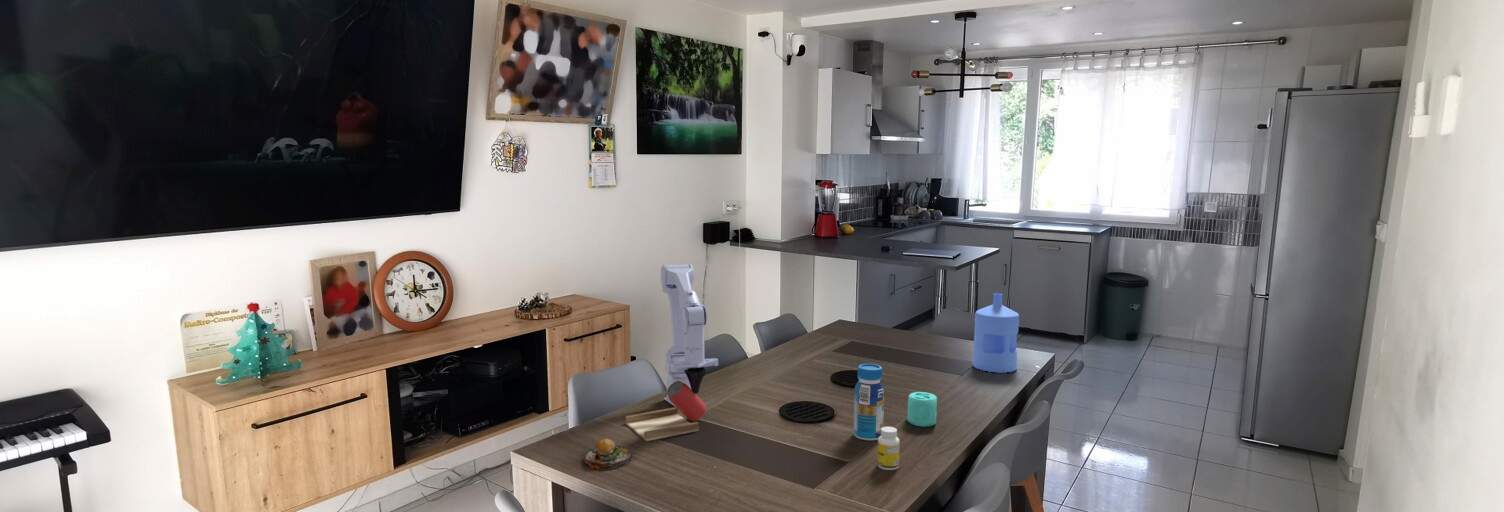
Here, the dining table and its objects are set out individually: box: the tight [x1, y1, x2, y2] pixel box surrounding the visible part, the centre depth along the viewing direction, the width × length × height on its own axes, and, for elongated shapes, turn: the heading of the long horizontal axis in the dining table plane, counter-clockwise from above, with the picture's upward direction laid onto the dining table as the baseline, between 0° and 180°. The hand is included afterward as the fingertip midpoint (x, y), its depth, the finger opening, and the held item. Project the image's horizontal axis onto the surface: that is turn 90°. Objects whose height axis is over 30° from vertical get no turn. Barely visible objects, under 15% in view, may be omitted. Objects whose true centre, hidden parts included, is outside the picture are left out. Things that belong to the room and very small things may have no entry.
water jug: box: [972, 292, 1020, 374], centre depth 278 cm, size 16×16×28 cm
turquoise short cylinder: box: [907, 391, 938, 428], centre depth 221 cm, size 8×8×8 cm
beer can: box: [666, 381, 707, 422], centre depth 219 cm, size 7×7×12 cm
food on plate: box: [584, 437, 633, 470], centre depth 193 cm, size 12×12×8 cm
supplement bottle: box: [876, 426, 901, 471], centre depth 189 cm, size 5×5×10 cm
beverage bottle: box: [853, 363, 885, 442], centre depth 209 cm, size 8×8×20 cm
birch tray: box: [624, 406, 700, 442], centre depth 217 cm, size 16×16×2 cm
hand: (695, 392), depth 221 cm, fingers closed
